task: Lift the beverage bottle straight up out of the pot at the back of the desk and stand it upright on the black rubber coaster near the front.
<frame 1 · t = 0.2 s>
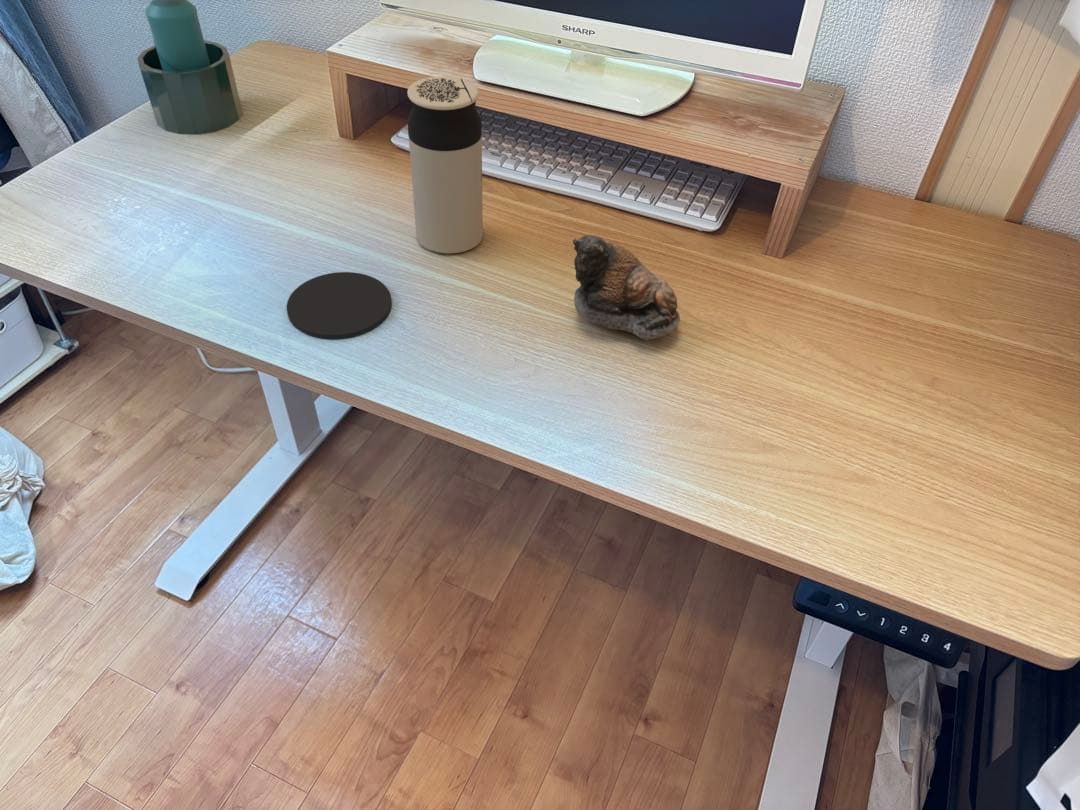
travel mug: (449, 238, 96), on the table
coaster: (340, 306, 85), on the table
pot: (202, 127, 113), on the table
beverage bottle: (202, 126, 113), resting on pot
bison figurine: (620, 327, 85), on the table
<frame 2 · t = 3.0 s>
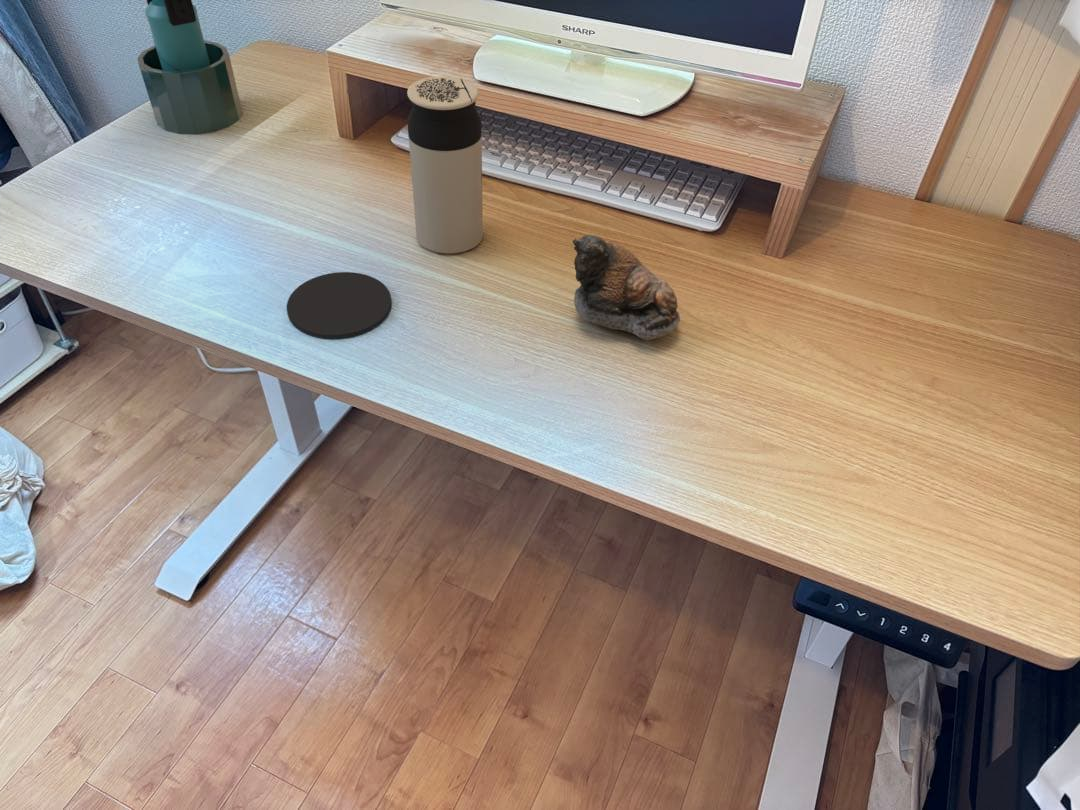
hand: (172, 13, 102), 15 cm above the table, tool pointing down, fingers closed on beverage bottle, 6 cm apart
beverage bottle: (202, 126, 113), resting on pot, touching gripper
everything else where it was.
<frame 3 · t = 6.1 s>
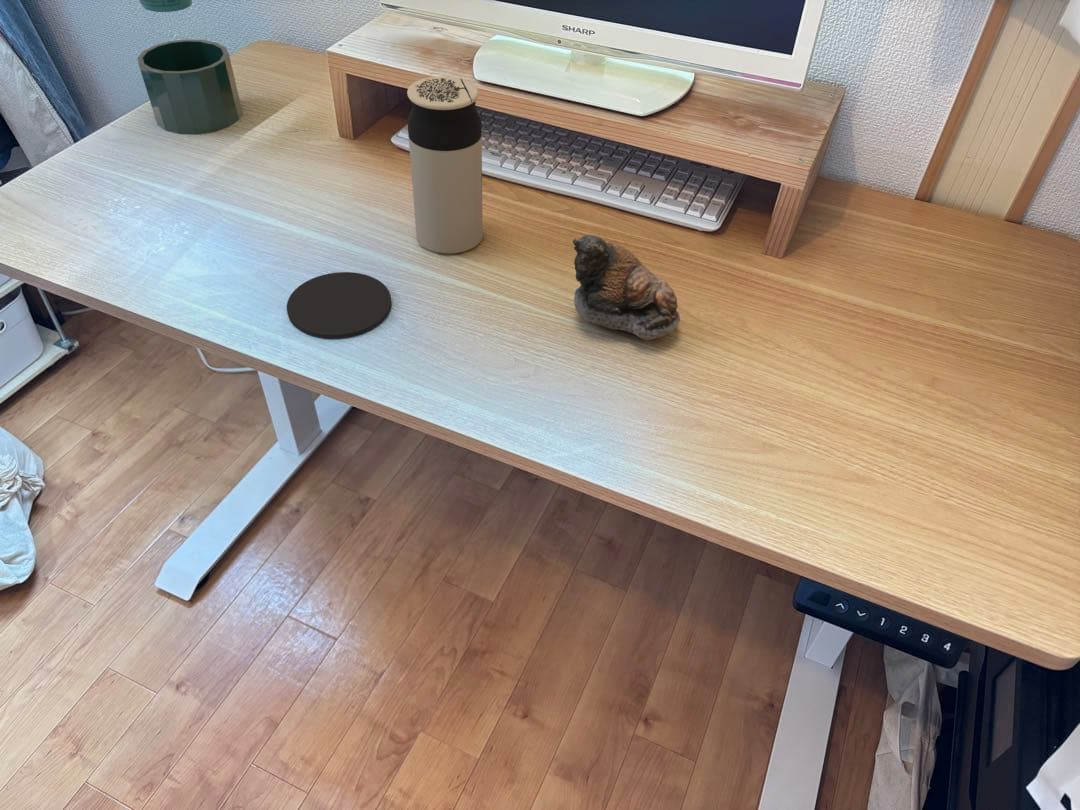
beverage bottle: (170, 18, 102), point 15 cm above the table, touching gripper
everything else where it was.
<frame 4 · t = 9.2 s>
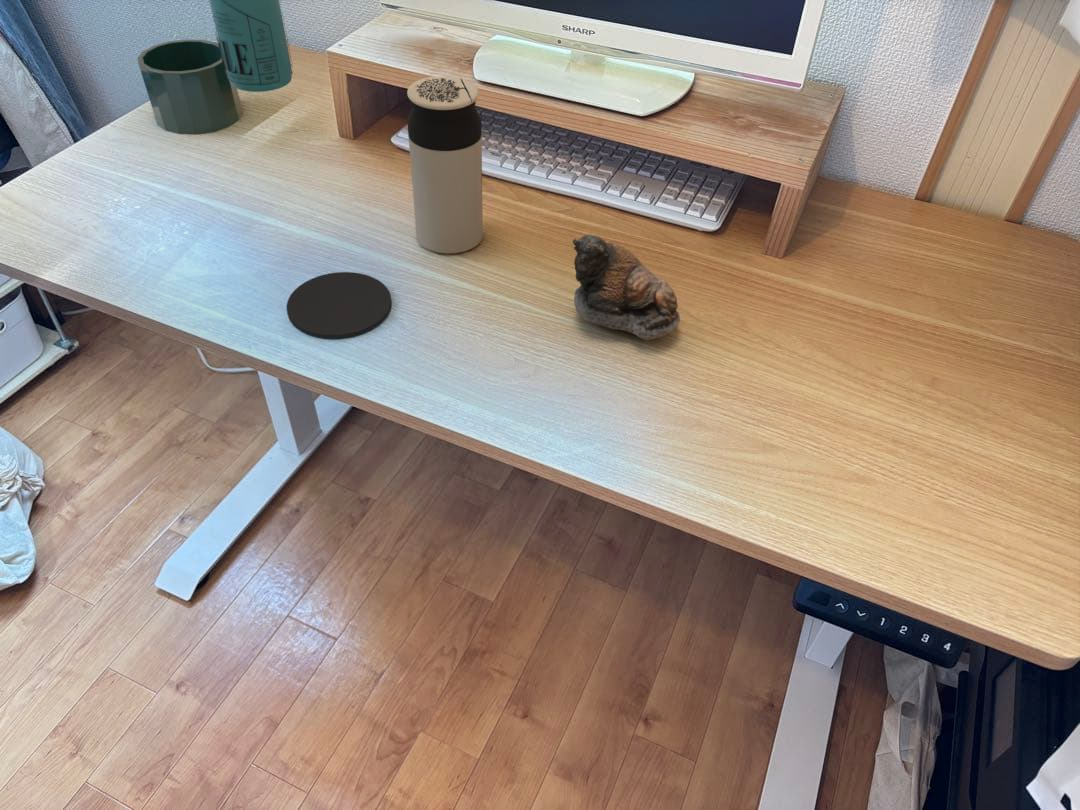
beverage bottle: (263, 96, 80), point 18 cm above the table, touching gripper
everything else where it was.
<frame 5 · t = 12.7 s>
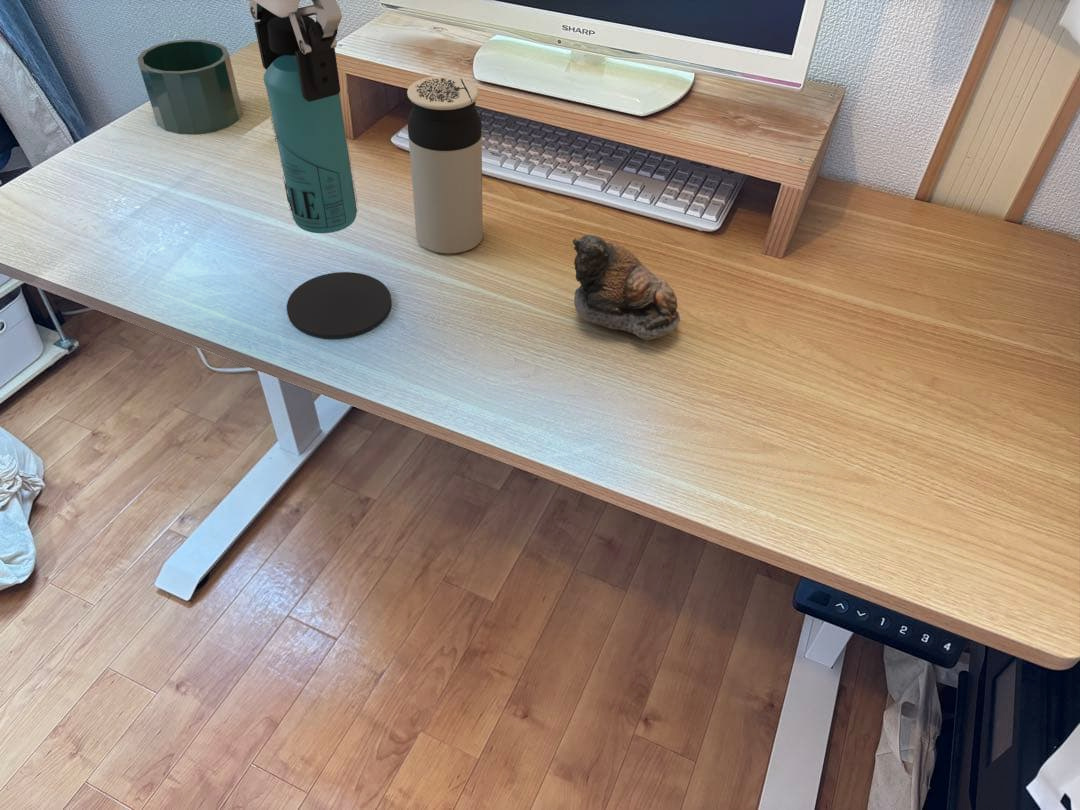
hand: (301, 79, 68), 25 cm above the table, tool pointing down, fingers closed on beverage bottle, 6 cm apart
beverage bottle: (327, 232, 79), point 9 cm above the table, touching gripper
everything else where it was.
when the fingers open (16 cm above the table, at t = 15.7 s): beverage bottle stays where it is, resting on coaster.
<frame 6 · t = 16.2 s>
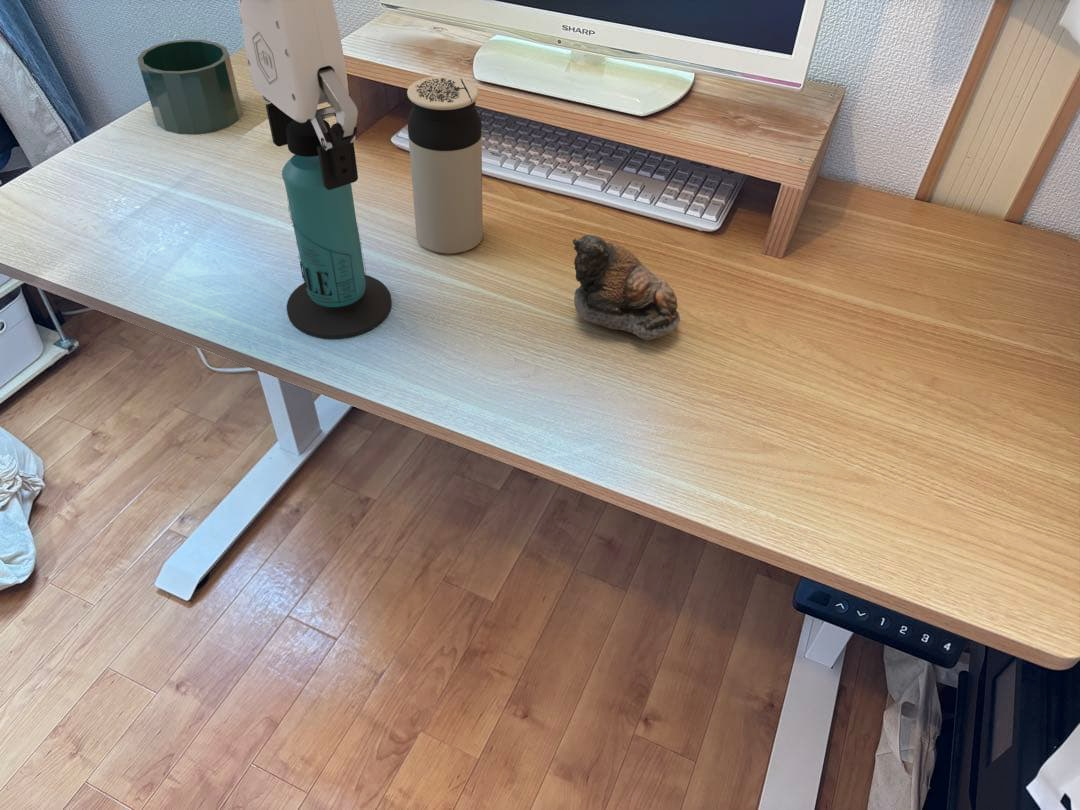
hand: (315, 162, 74), 17 cm above the table, tool pointing down, fingers open, 9 cm apart
beverage bottle: (338, 303, 85), resting on coaster
everything else where it was.
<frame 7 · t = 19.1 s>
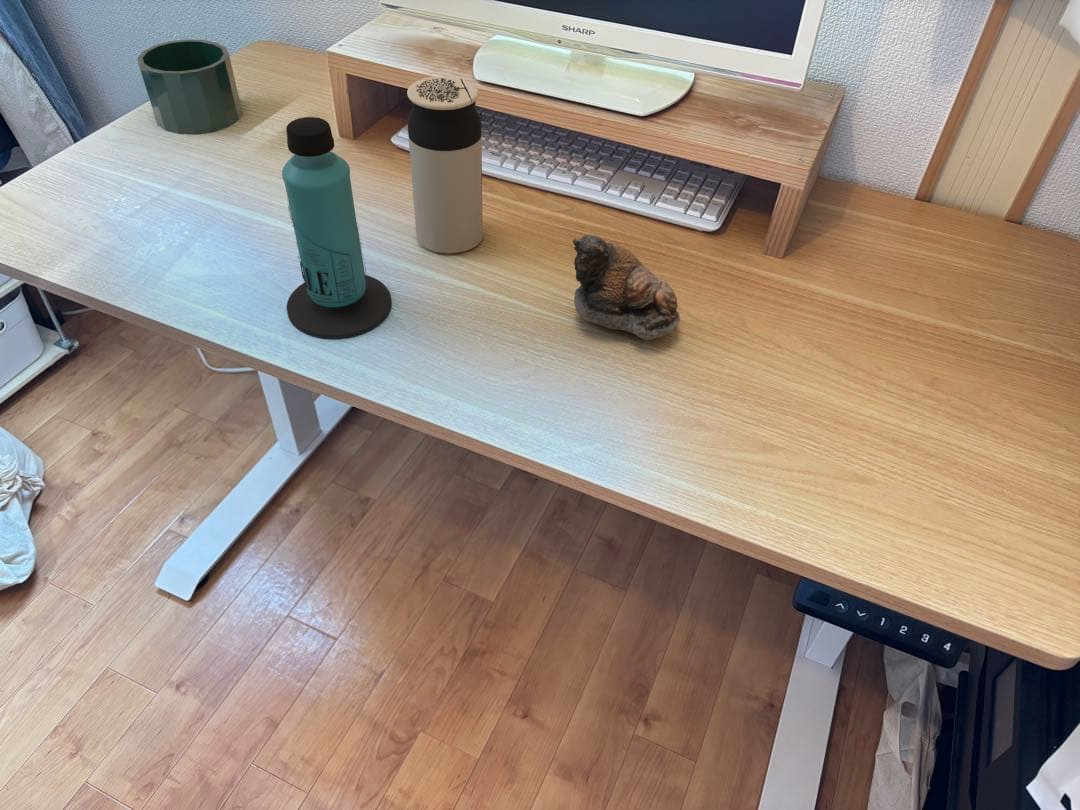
nothing on the table moved.
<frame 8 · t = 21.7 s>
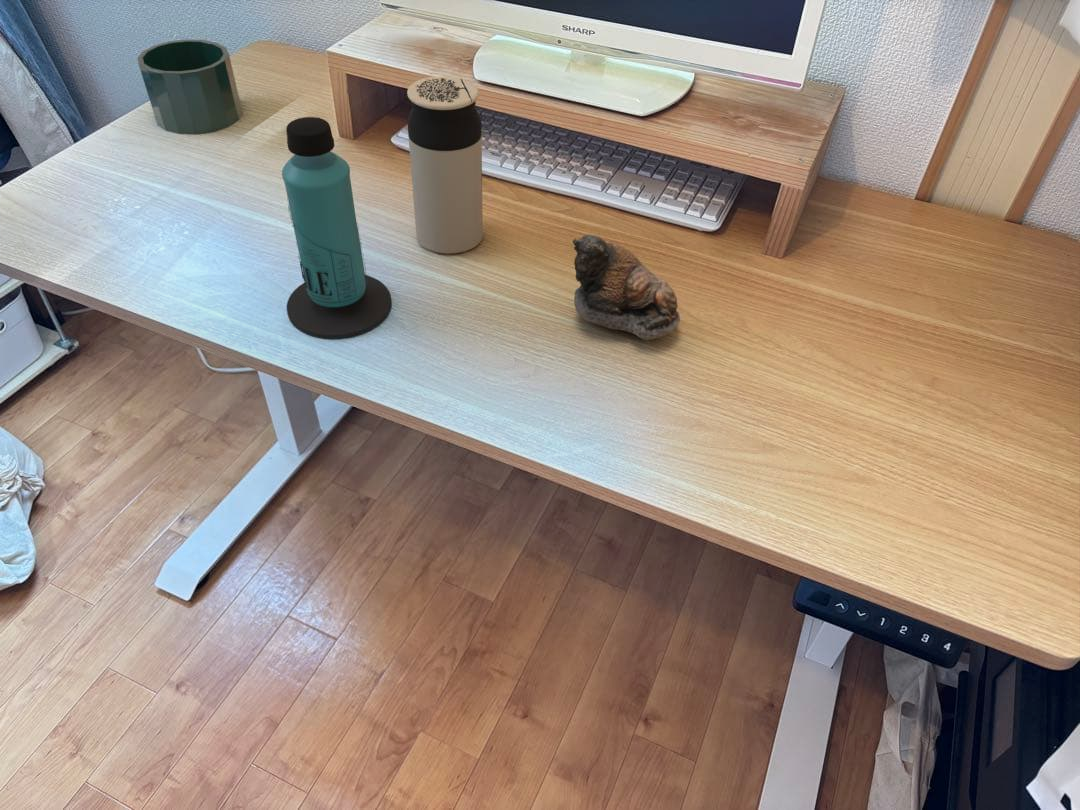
nothing on the table moved.
at the end: beverage bottle 0.1 cm off-centre on the coaster, point 0.4 cm above the coaster's base; beverage bottle tilted 0°; beverage bottle touching coaster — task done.
